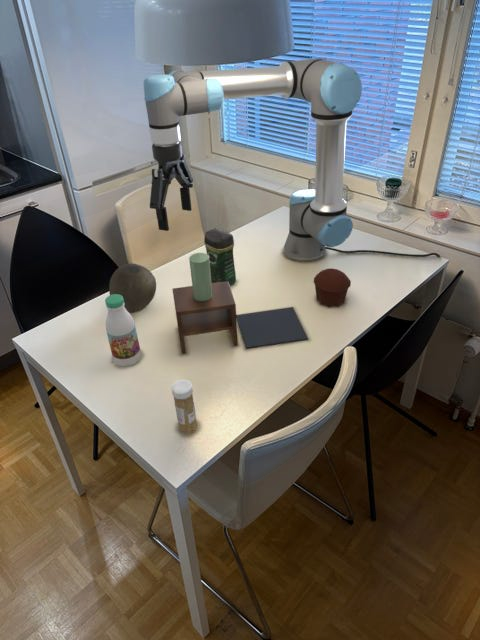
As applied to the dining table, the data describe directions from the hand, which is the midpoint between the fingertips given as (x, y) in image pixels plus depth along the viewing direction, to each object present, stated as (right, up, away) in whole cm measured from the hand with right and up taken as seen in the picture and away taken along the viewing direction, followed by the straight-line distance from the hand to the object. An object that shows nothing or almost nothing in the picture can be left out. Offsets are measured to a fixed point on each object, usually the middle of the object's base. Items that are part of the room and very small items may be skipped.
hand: (175, 219), depth 139 cm
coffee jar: (+12, -15, +29) cm, 35 cm away
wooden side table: (+8, -33, +5) cm, 35 cm away
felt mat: (+27, -31, +7) cm, 42 cm away
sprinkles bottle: (+6, -54, -22) cm, 59 cm away
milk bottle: (-13, -39, -1) cm, 41 cm away
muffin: (+47, -22, +18) cm, 55 cm away
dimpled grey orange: (-15, -25, +18) cm, 34 cm away
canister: (+8, -22, -4) cm, 23 cm away
